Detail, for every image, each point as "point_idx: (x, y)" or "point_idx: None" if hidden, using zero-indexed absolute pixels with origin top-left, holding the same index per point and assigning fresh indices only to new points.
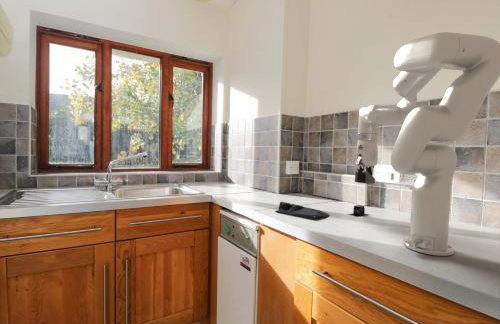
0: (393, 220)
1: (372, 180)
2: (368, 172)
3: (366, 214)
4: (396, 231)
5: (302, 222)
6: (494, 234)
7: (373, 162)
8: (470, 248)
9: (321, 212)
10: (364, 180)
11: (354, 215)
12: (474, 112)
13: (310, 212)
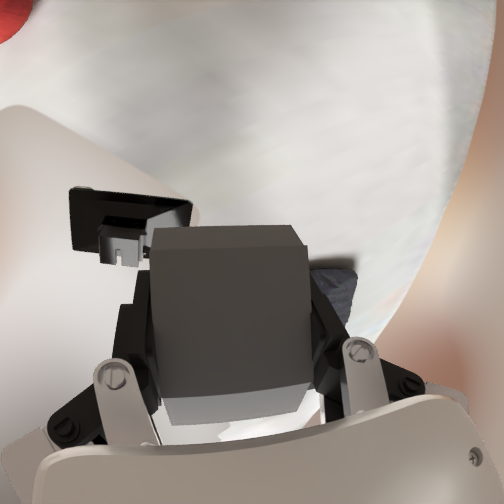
0: (91, 83)
1: (211, 244)
2: (164, 374)
3: (101, 207)
4: (287, 3)
5: (392, 265)
6: None
7: (250, 499)
8: None
9: (317, 283)
10: (310, 276)
11: (165, 227)
12: None
13: (340, 298)
